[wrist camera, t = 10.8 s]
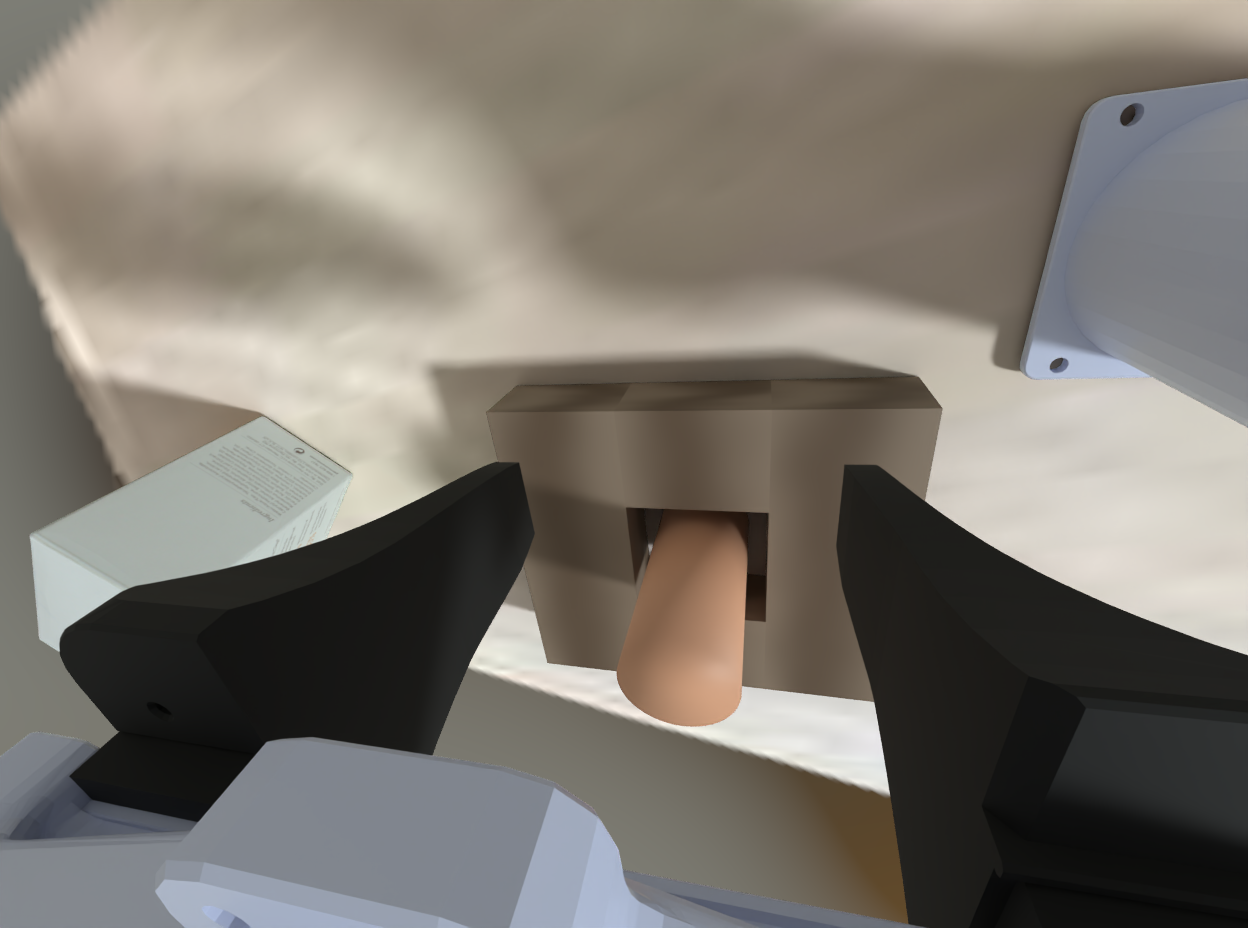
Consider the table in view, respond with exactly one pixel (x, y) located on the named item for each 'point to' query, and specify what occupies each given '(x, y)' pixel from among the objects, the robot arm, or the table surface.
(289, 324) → the table surface
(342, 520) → the table surface
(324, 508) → the small box
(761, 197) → the table surface
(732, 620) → the peg
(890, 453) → the socket block
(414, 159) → the table surface
